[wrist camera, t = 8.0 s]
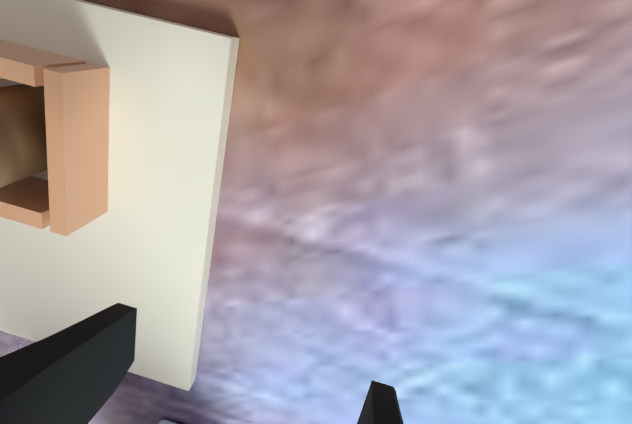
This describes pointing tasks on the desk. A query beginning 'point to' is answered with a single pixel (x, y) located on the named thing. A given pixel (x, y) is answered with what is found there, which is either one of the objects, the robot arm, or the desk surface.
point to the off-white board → (130, 185)
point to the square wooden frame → (62, 141)
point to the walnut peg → (22, 132)
